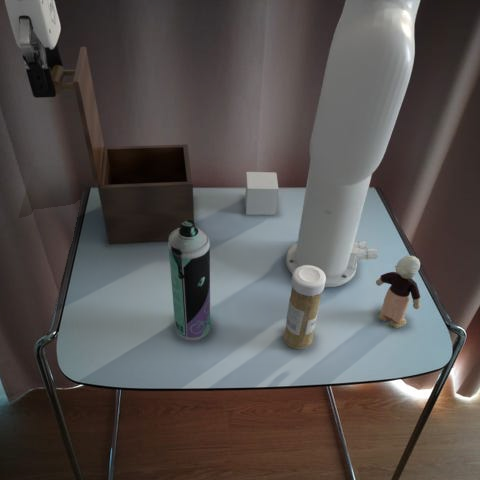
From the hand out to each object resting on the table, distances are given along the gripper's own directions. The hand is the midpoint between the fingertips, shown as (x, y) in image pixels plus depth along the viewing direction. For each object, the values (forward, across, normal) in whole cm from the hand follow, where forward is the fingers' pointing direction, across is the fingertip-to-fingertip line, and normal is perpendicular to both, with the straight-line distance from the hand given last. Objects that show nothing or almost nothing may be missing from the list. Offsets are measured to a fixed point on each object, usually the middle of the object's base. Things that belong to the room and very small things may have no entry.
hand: (49, 83), depth 76 cm
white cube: (+27, +3, -35) cm, 44 cm away
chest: (+26, 0, -13) cm, 29 cm away
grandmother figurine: (+27, -30, -51) cm, 65 cm away
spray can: (+27, -29, -19) cm, 43 cm away
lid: (+6, 0, -5) cm, 8 cm away
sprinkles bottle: (+27, -33, -35) cm, 55 cm away
